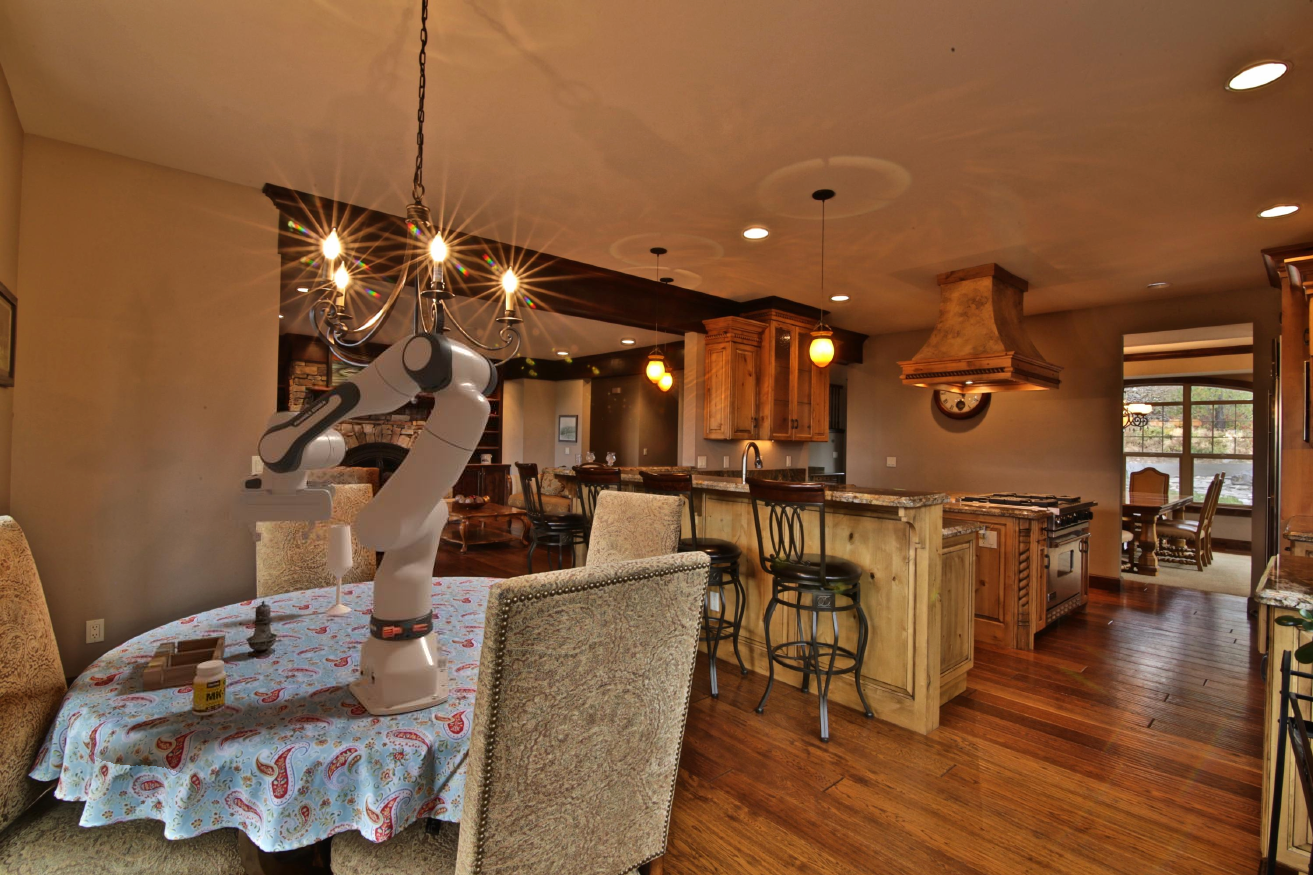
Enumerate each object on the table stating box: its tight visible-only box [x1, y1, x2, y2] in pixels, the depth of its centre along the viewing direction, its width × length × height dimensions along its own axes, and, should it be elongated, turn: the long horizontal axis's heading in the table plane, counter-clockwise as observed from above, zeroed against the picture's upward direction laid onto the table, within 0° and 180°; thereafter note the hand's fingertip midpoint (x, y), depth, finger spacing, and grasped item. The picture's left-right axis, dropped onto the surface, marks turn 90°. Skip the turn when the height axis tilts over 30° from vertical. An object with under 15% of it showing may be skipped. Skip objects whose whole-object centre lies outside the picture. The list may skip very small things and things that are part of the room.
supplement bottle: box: [192, 660, 227, 716], centre depth 109 cm, size 5×5×8 cm
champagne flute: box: [324, 524, 354, 615], centre depth 169 cm, size 7×7×24 cm
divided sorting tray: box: [142, 635, 226, 692], centre depth 126 cm, size 18×12×4 cm, turn 31°
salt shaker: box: [246, 600, 278, 659], centre depth 137 cm, size 6×6×12 cm
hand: (281, 540), depth 139 cm, fingers open, 8 cm apart
